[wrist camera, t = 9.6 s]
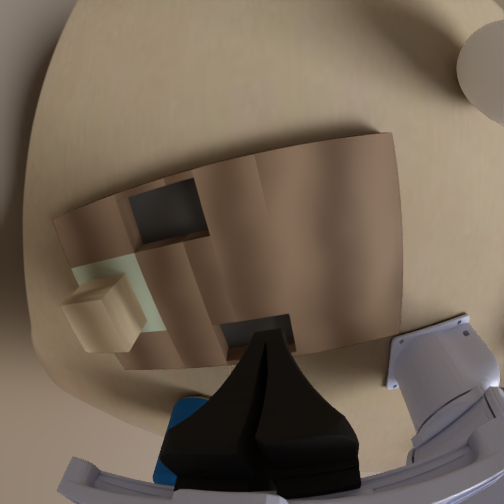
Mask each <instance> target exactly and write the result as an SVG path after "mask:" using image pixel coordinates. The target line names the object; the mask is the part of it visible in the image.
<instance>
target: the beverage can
mask: <svg viewBox="0 0 504 504" xmlns="http://www.w3.org/2000/svg"><path fill="white" fill-rule="evenodd" d="M208 400H209V398H206V397H201V396H192V397H186V398H182V399H180V400H178V401H177V402H176V403H175V406H174V409H173V412H172V415H171V418H170V421H169V425H168V428H167V431H168V430H169V429H170V428H172V427H174V426H175V425H177V424H178V423H180V422H182V421H183V420H185V419H186V418H188V417H189V416H190V415H192V414H193V413H194V412H195V411H197V410H198V409H199V408H200V407H202V406H203V405H204V404H205V403H206V402H207V401H208ZM167 431H166V434H167ZM166 434H165V436H166ZM164 438H165V437H164ZM161 448H162V447H161ZM160 451H161V450H160ZM176 478H177V476H176V475H175V474H174V473H173V472H171V471H170V470H169V469H168V468H167V467H166V466H165V465H164V464H163V463H162V462H161V461H160V459H159V457H158V460H157V464H156V467H155V470H154V474H153V481H154V483H155V484H161V485H167V486H173V487H174V486H175V482H176Z"/></svg>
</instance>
